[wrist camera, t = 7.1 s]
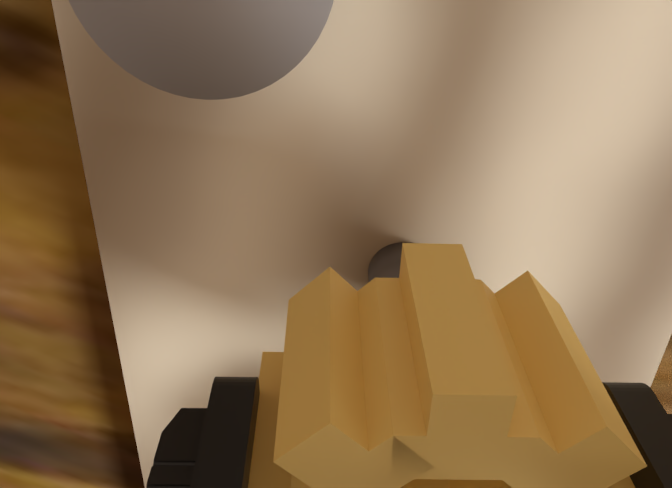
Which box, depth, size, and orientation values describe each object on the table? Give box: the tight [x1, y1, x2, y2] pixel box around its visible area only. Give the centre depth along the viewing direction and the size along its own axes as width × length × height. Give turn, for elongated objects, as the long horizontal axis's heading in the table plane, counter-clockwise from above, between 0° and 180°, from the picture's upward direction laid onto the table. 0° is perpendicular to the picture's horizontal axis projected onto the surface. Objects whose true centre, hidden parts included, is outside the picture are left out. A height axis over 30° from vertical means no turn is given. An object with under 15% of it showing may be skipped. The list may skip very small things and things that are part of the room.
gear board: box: [51, 0, 672, 488], centre depth 14 cm, size 14×22×6 cm, turn 178°
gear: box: [248, 243, 647, 488], centre depth 10 cm, size 6×6×4 cm
